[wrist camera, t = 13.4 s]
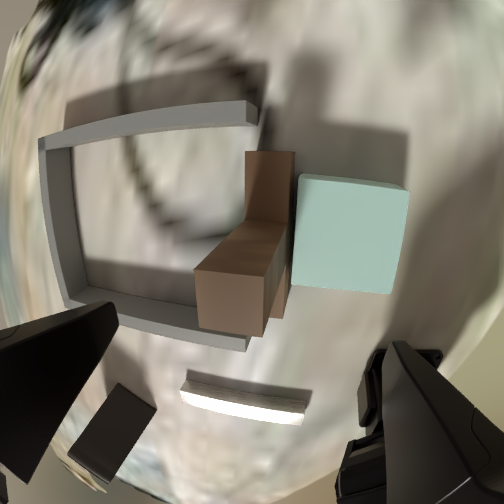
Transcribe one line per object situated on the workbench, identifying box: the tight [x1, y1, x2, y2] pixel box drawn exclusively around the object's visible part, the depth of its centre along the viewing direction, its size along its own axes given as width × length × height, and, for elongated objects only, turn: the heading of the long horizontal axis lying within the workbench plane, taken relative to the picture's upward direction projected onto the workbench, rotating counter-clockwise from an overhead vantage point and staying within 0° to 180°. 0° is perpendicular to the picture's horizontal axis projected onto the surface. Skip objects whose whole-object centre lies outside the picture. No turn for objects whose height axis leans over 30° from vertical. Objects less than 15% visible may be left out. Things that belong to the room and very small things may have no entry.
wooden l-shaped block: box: [194, 151, 295, 337], centre depth 14 cm, size 2×10×10 cm, turn 0°
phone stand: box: [67, 383, 157, 484], centre depth 26 cm, size 9×6×12 cm, turn 148°
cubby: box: [38, 100, 258, 352], centre depth 19 cm, size 18×16×3 cm
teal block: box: [291, 173, 410, 294], centre depth 16 cm, size 6×6×4 cm
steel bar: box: [180, 379, 306, 425], centre depth 25 cm, size 12×2×2 cm, turn 89°
